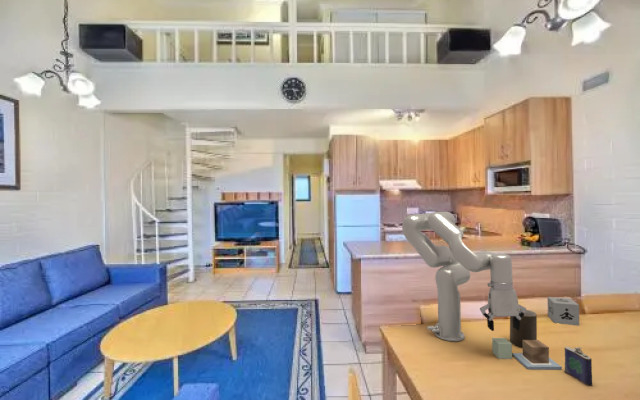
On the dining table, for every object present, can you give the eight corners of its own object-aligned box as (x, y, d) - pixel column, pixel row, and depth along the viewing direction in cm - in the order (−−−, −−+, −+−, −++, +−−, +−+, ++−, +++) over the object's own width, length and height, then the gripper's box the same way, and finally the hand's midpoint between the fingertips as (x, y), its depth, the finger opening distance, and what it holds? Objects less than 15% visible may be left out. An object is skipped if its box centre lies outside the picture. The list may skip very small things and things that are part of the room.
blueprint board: (527, 369, 116) (527, 366, 116) (512, 355, 126) (512, 352, 126) (561, 369, 115) (561, 366, 115) (543, 355, 125) (543, 353, 125)
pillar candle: (528, 351, 129) (528, 314, 129) (504, 341, 138) (504, 307, 137) (541, 346, 133) (542, 310, 133) (518, 337, 142) (518, 303, 142)
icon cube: (547, 315, 166) (547, 296, 165) (571, 318, 162) (570, 298, 162) (554, 323, 156) (554, 302, 156) (579, 325, 153) (579, 304, 153)
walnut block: (532, 363, 118) (532, 347, 118) (522, 355, 124) (522, 339, 124) (548, 363, 118) (548, 347, 118) (538, 355, 124) (538, 339, 124)
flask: (562, 371, 114) (562, 341, 114) (570, 370, 115) (570, 341, 115) (587, 386, 105) (587, 354, 105) (595, 385, 106) (595, 353, 105)
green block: (498, 359, 124) (498, 343, 124) (492, 352, 129) (492, 337, 129) (511, 359, 124) (511, 343, 123) (505, 352, 129) (504, 337, 128)
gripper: (483, 288, 122) (485, 333, 122) (530, 287, 121) (532, 332, 121) (475, 283, 130) (477, 326, 129) (518, 282, 129) (520, 325, 129)
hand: (503, 329), depth 125 cm, fingers open, 9 cm apart
